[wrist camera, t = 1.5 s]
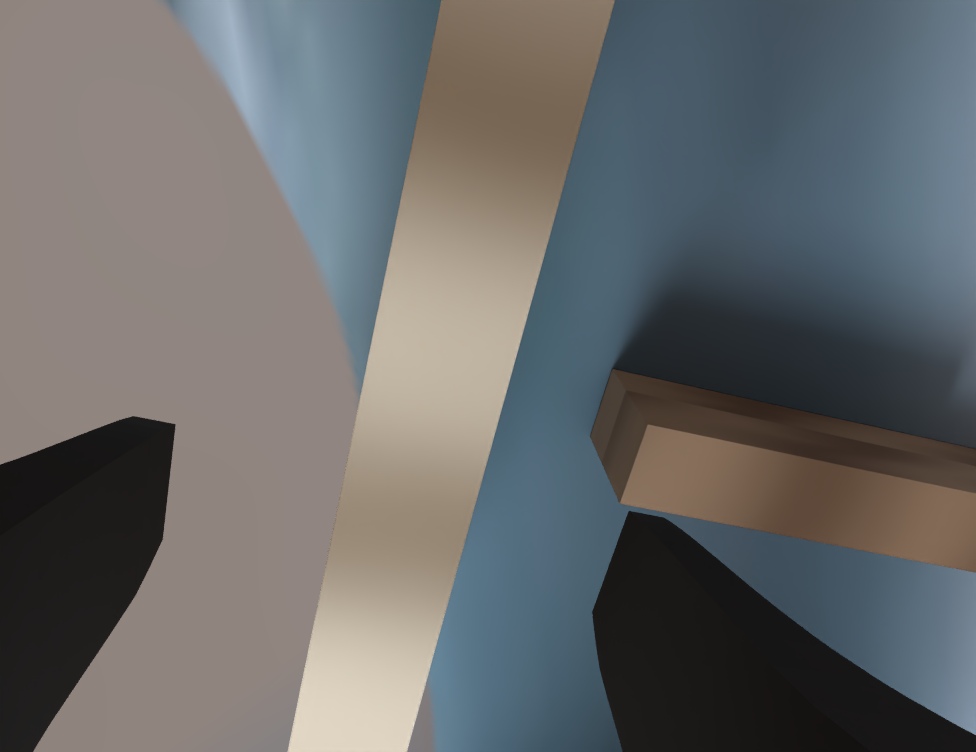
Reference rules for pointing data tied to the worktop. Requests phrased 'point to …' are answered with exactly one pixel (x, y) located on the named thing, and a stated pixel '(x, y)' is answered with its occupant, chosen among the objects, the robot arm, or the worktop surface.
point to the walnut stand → (786, 471)
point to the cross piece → (443, 352)
